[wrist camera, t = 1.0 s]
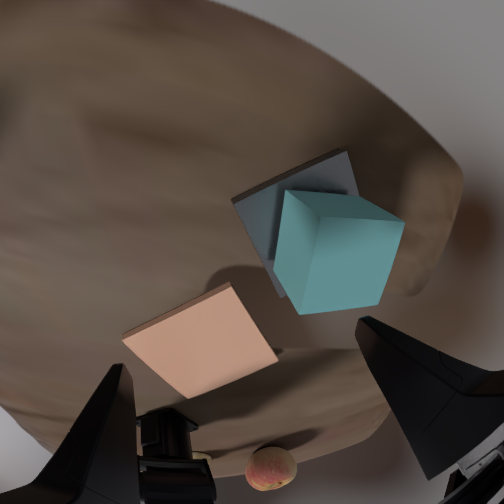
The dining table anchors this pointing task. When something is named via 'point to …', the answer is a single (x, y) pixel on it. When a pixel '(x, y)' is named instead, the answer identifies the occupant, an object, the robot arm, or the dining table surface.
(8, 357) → the dining table surface
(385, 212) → the teal cube
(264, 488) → the apple
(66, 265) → the dining table surface
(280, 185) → the post base
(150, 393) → the dining table surface
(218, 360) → the tile
